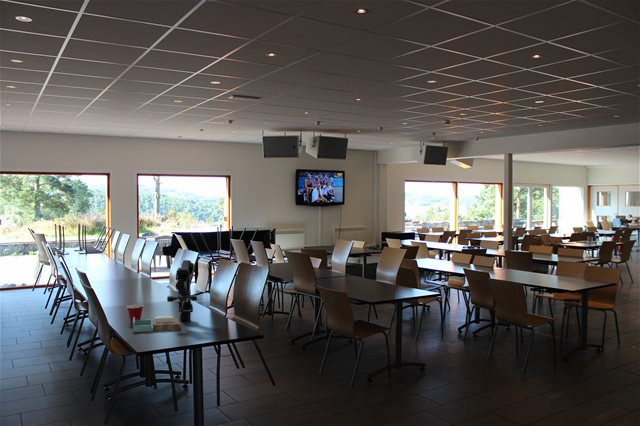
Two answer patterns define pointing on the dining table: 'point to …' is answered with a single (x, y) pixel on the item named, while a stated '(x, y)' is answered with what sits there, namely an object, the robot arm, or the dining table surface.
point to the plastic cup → (135, 311)
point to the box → (142, 325)
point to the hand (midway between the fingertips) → (181, 311)
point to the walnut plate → (166, 325)
